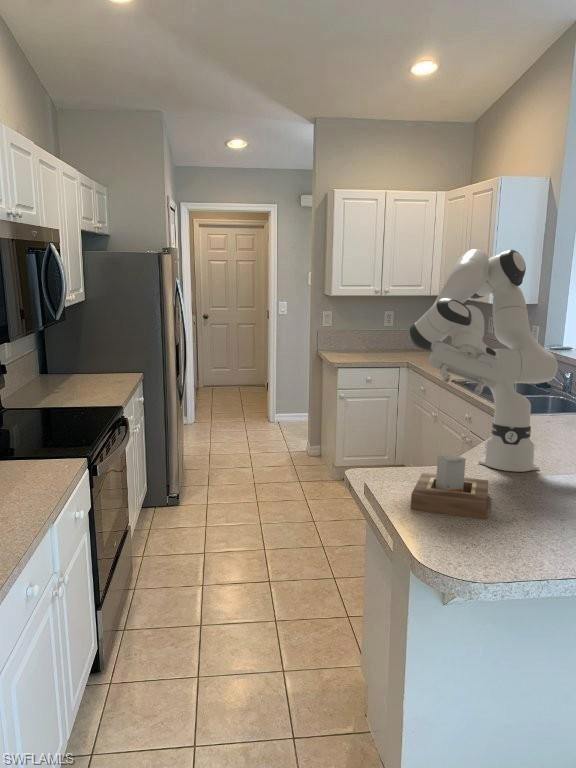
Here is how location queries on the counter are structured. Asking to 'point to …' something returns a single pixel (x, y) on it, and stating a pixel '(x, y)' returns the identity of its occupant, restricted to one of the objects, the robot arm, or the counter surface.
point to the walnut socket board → (451, 497)
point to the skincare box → (450, 473)
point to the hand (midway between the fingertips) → (462, 386)
